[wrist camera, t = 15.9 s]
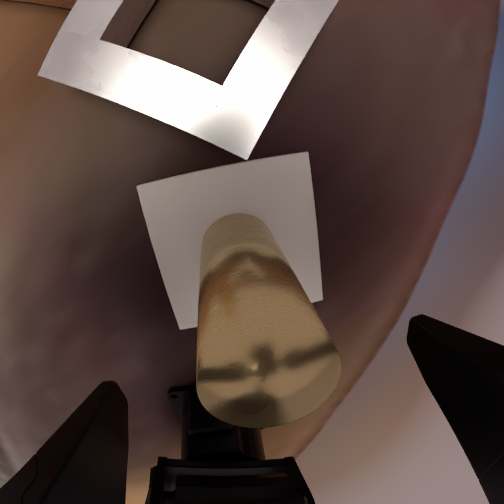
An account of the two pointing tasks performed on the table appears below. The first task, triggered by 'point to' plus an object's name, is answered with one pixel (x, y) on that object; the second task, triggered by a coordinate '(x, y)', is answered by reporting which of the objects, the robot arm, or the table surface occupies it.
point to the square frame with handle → (177, 79)
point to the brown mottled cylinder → (258, 331)
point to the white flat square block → (224, 203)
